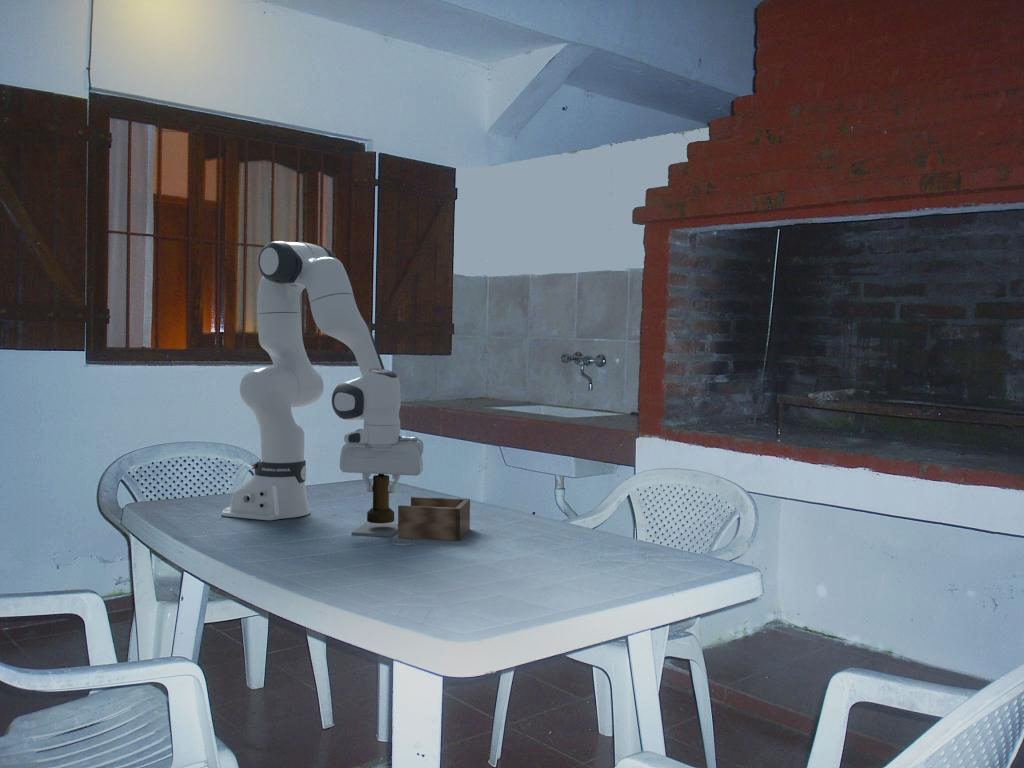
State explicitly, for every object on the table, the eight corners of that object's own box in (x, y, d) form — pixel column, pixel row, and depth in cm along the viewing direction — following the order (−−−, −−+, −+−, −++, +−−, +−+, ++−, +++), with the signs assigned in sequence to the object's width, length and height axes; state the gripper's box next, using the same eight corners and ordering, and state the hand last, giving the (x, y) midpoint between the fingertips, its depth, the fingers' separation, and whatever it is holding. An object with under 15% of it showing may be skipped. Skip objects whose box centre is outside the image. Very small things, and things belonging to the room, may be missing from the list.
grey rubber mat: (351, 534, 211) (351, 532, 211) (366, 524, 223) (366, 522, 223) (392, 536, 209) (392, 534, 209) (405, 526, 221) (405, 523, 221)
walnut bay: (397, 537, 209) (398, 506, 208) (411, 526, 222) (411, 496, 221) (459, 540, 207) (459, 508, 206) (469, 528, 220) (470, 499, 219)
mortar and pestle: (397, 518, 219) (397, 446, 218) (390, 524, 212) (391, 450, 211) (370, 517, 220) (371, 445, 219) (363, 523, 213) (364, 449, 212)
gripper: (426, 435, 217) (425, 491, 217) (346, 432, 219) (345, 488, 220) (420, 438, 210) (419, 496, 211) (337, 435, 213) (337, 492, 214)
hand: (381, 492), depth 216 cm, fingers closed on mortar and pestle, 4 cm apart
